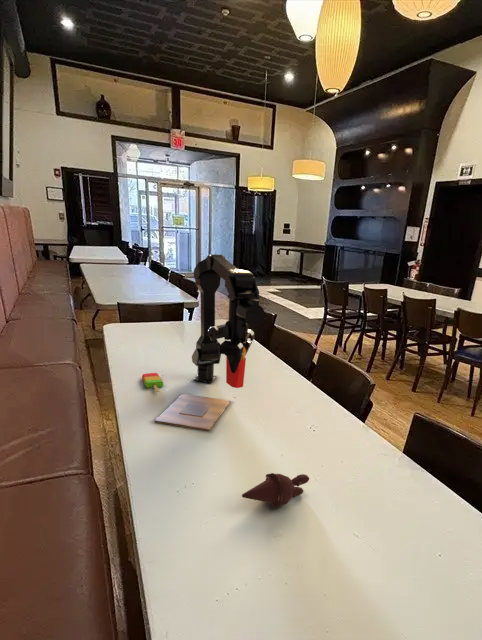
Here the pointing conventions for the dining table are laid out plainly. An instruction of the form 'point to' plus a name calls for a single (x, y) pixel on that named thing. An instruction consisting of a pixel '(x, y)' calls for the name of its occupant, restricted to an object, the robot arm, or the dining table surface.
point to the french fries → (236, 373)
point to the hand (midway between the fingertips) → (236, 369)
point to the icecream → (277, 489)
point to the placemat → (193, 412)
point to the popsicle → (152, 381)
